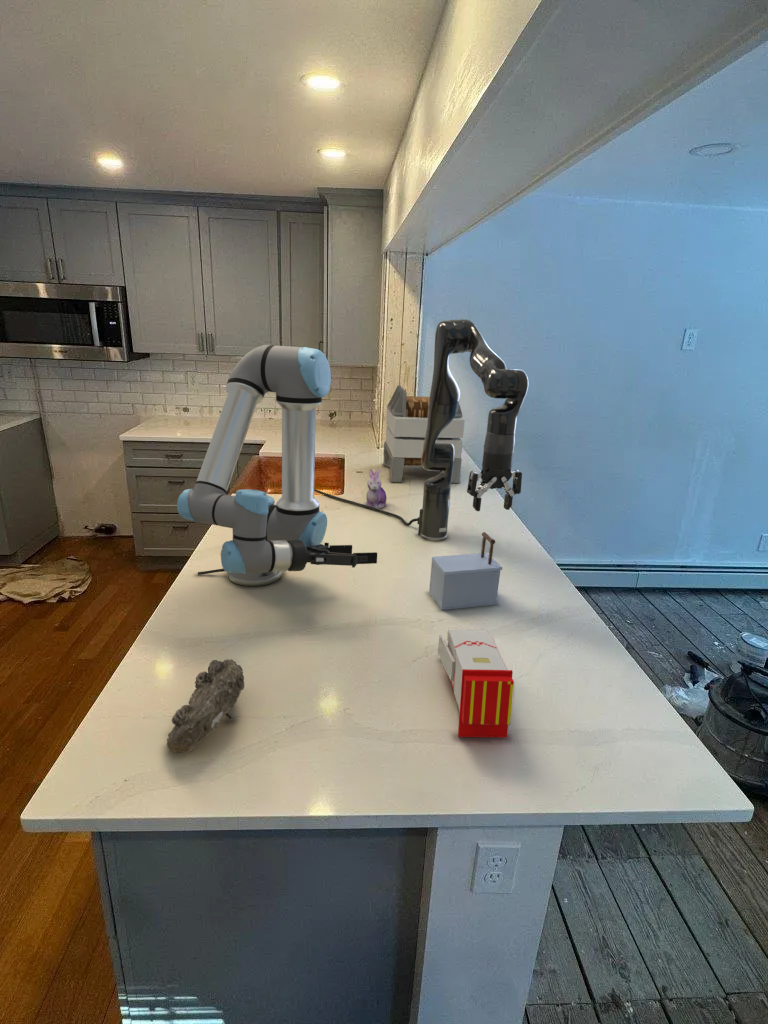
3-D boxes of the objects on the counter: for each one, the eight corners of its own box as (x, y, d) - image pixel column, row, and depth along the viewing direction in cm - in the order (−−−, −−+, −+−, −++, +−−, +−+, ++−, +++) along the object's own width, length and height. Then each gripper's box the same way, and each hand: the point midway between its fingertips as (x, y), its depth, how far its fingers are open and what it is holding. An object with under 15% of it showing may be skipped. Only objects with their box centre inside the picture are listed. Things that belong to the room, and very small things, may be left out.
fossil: (192, 660, 117) (244, 628, 112) (224, 691, 120) (276, 661, 115) (142, 746, 98) (202, 712, 93) (182, 779, 101) (242, 748, 96)
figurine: (370, 511, 220) (372, 474, 215) (359, 503, 229) (360, 467, 224) (392, 508, 224) (394, 471, 219) (380, 500, 233) (381, 465, 228)
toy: (488, 613, 130) (523, 677, 101) (484, 667, 133) (517, 744, 104) (435, 612, 130) (455, 676, 101) (432, 666, 133) (451, 743, 103)
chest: (481, 588, 163) (484, 555, 160) (496, 604, 155) (500, 570, 151) (429, 593, 159) (431, 559, 156) (441, 610, 150) (444, 575, 147)
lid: (486, 555, 160) (489, 528, 157) (502, 570, 151) (505, 541, 148) (431, 559, 156) (433, 531, 153) (444, 575, 147) (447, 546, 144)
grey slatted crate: (382, 463, 289) (386, 382, 275) (445, 464, 293) (451, 384, 279) (390, 482, 257) (394, 392, 243) (460, 483, 261) (468, 394, 247)
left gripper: (269, 562, 149) (341, 560, 160) (306, 580, 128) (387, 576, 139) (270, 534, 148) (342, 533, 159) (308, 547, 127) (388, 546, 138)
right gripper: (479, 454, 139) (472, 516, 144) (531, 452, 143) (523, 513, 148) (467, 446, 146) (461, 506, 151) (516, 445, 149) (509, 503, 155)
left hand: (363, 553), depth 149 cm, fingers open, 13 cm apart
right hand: (491, 509), depth 150 cm, fingers open, 8 cm apart
